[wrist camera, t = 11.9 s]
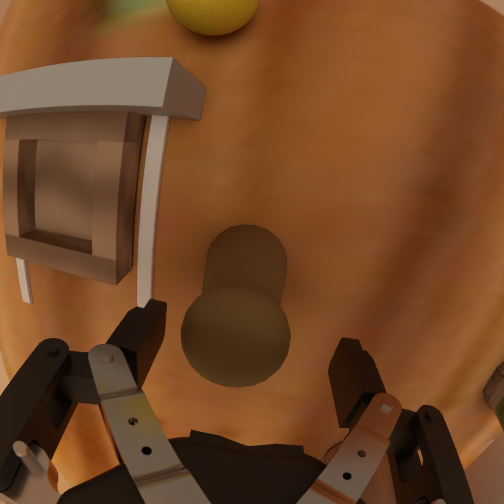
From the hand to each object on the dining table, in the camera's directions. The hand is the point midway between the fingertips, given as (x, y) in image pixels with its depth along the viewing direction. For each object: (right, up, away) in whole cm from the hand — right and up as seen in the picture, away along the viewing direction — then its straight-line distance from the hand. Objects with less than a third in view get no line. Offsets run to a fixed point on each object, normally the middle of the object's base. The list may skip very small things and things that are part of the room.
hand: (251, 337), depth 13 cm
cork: (0, +3, +10) cm, 10 cm away
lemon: (-2, +21, +4) cm, 21 cm away
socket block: (-14, +9, +8) cm, 19 cm away
